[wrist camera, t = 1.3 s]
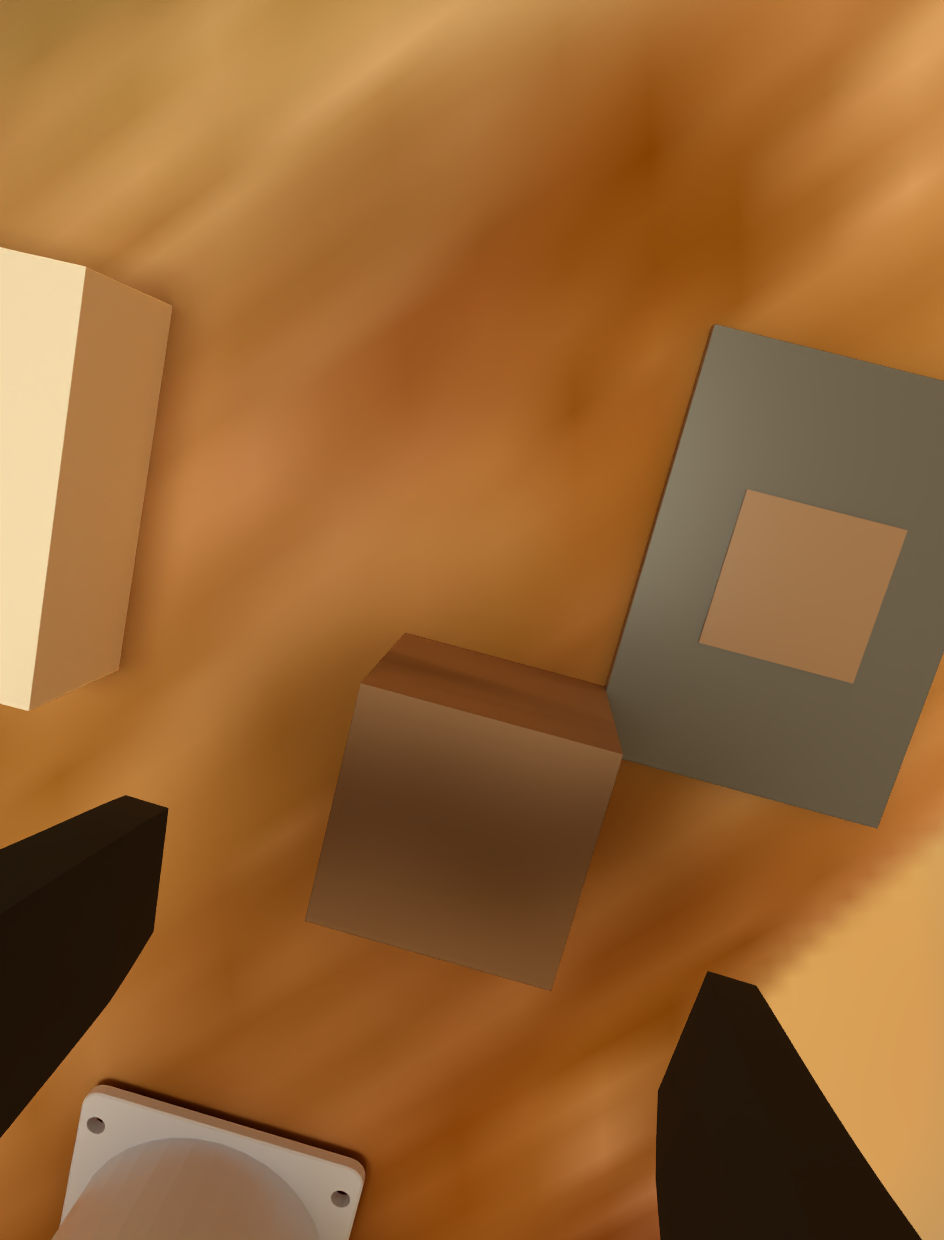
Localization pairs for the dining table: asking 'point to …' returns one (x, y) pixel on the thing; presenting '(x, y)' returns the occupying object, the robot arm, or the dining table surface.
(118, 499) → the base block
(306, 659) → the dining table surface
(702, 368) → the card
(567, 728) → the walnut block
